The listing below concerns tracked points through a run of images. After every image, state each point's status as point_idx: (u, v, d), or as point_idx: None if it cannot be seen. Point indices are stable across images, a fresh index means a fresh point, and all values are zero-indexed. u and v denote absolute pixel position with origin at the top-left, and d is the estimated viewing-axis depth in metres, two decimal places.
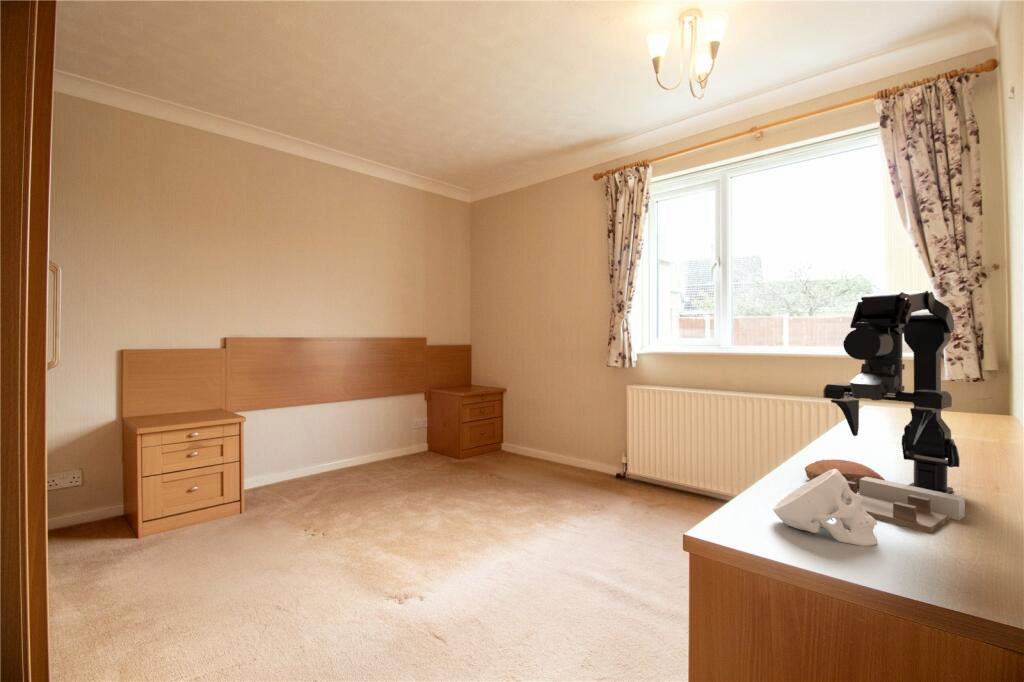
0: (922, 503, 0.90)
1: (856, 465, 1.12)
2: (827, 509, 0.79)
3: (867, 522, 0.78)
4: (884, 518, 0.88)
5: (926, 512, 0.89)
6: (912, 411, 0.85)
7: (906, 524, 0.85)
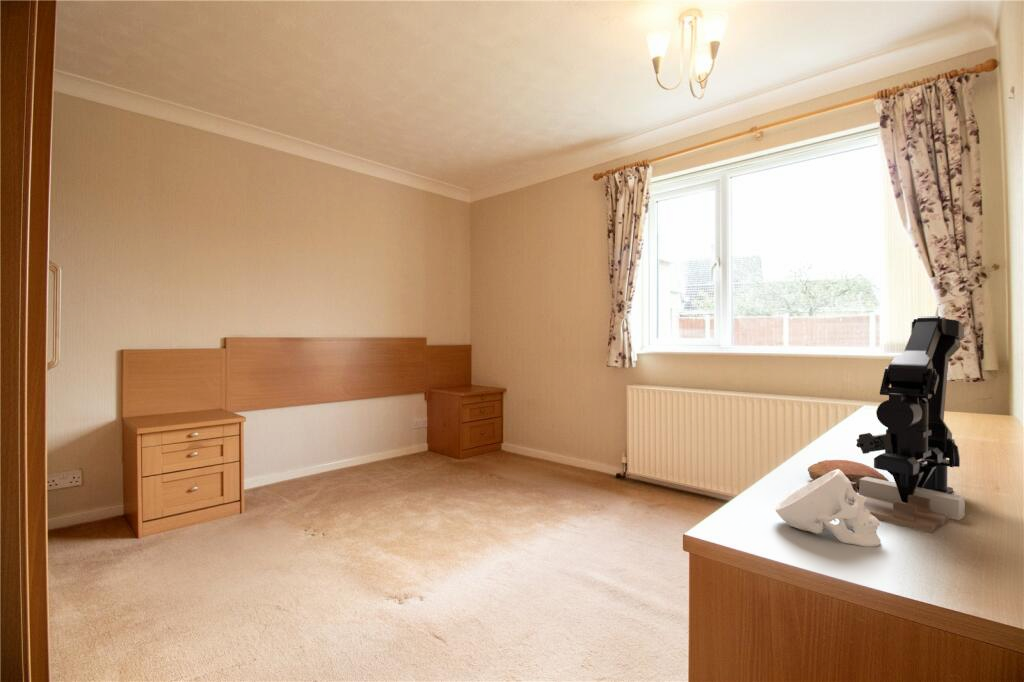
0: (922, 503, 0.90)
1: (859, 465, 1.11)
2: (830, 510, 0.79)
3: (870, 523, 0.78)
4: (884, 518, 0.88)
5: (926, 512, 0.89)
6: None
7: (906, 524, 0.85)
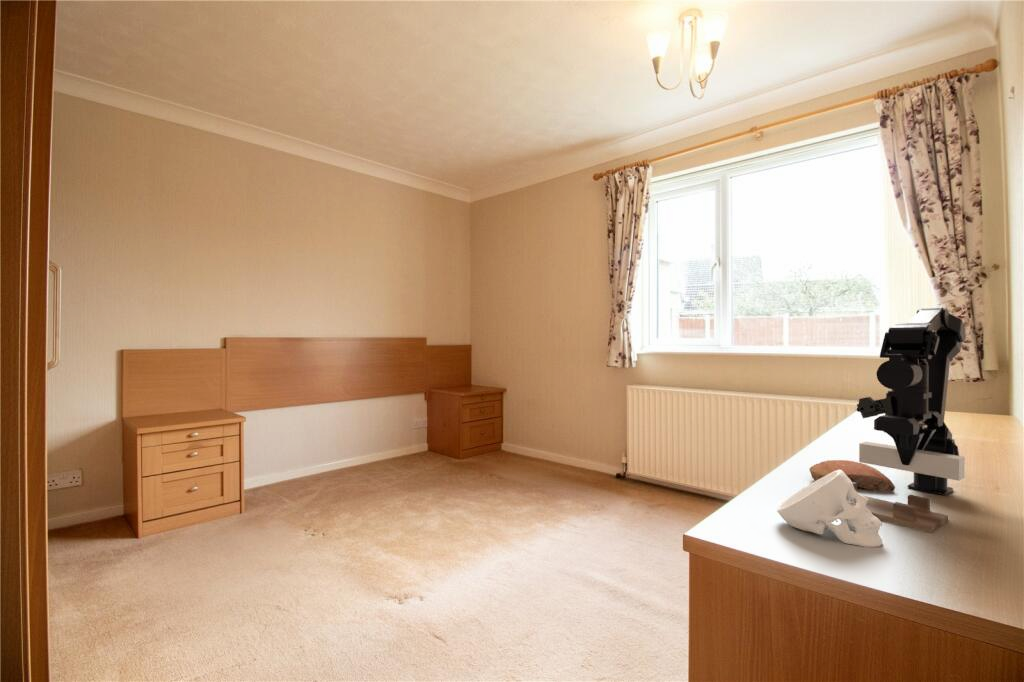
0: (922, 503, 0.90)
1: (861, 466, 1.11)
2: (832, 510, 0.79)
3: (872, 523, 0.78)
4: (884, 518, 0.88)
5: (926, 512, 0.89)
6: None
7: (906, 524, 0.85)
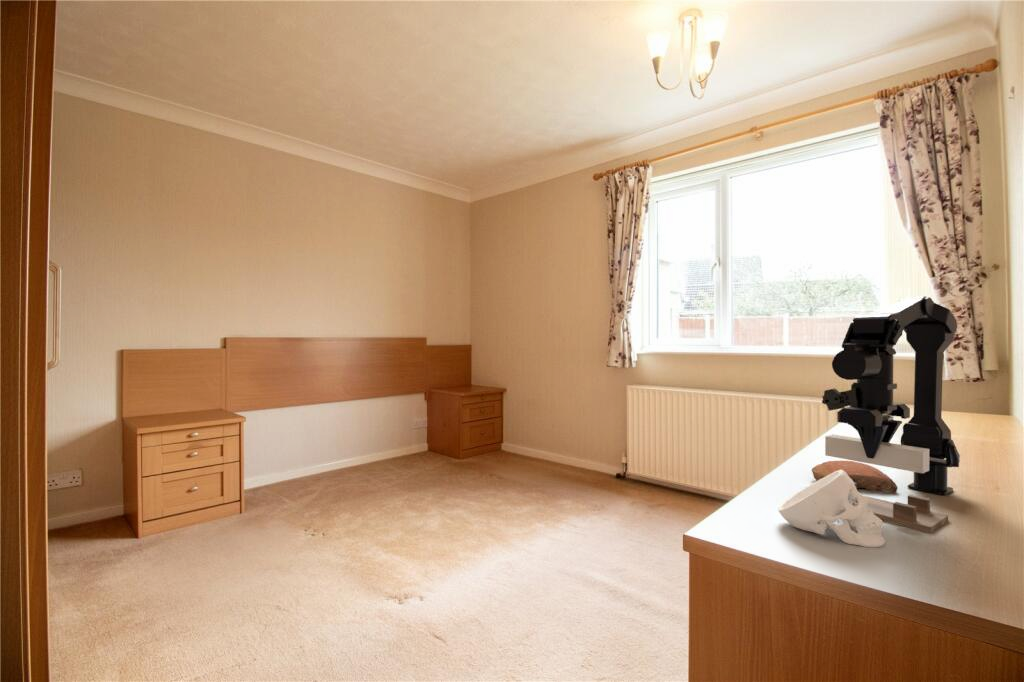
0: (922, 503, 0.90)
1: (864, 466, 1.11)
2: (834, 510, 0.79)
3: (874, 523, 0.77)
4: (884, 518, 0.88)
5: (926, 512, 0.89)
6: None
7: (906, 524, 0.85)
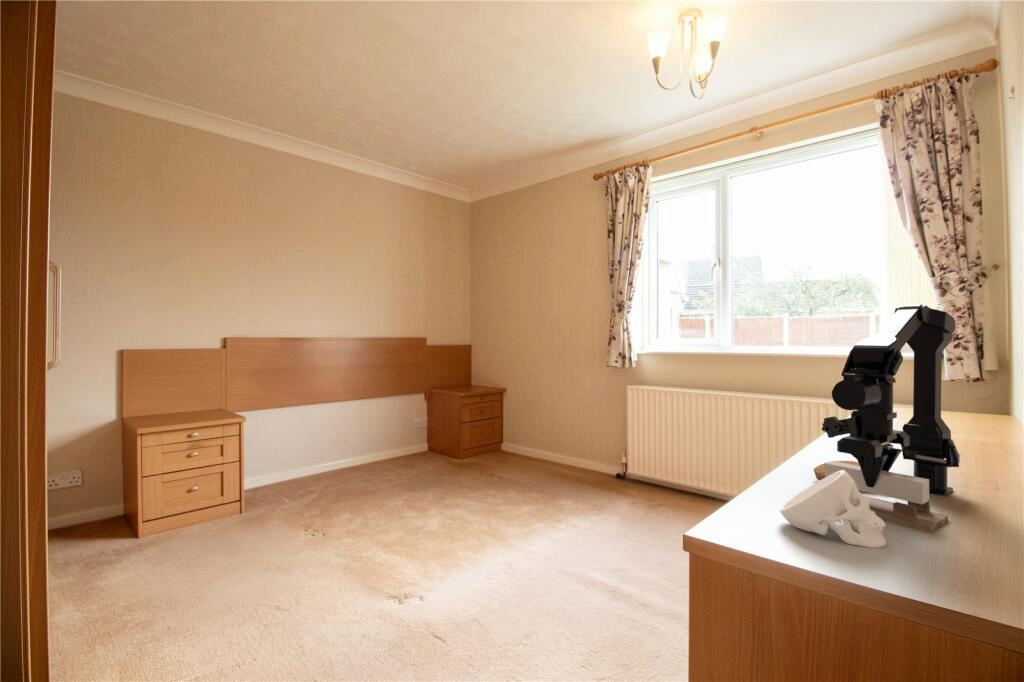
0: None
1: None
2: (835, 511, 0.79)
3: (876, 524, 0.77)
4: (884, 518, 0.88)
5: (926, 512, 0.89)
6: None
7: (906, 524, 0.85)
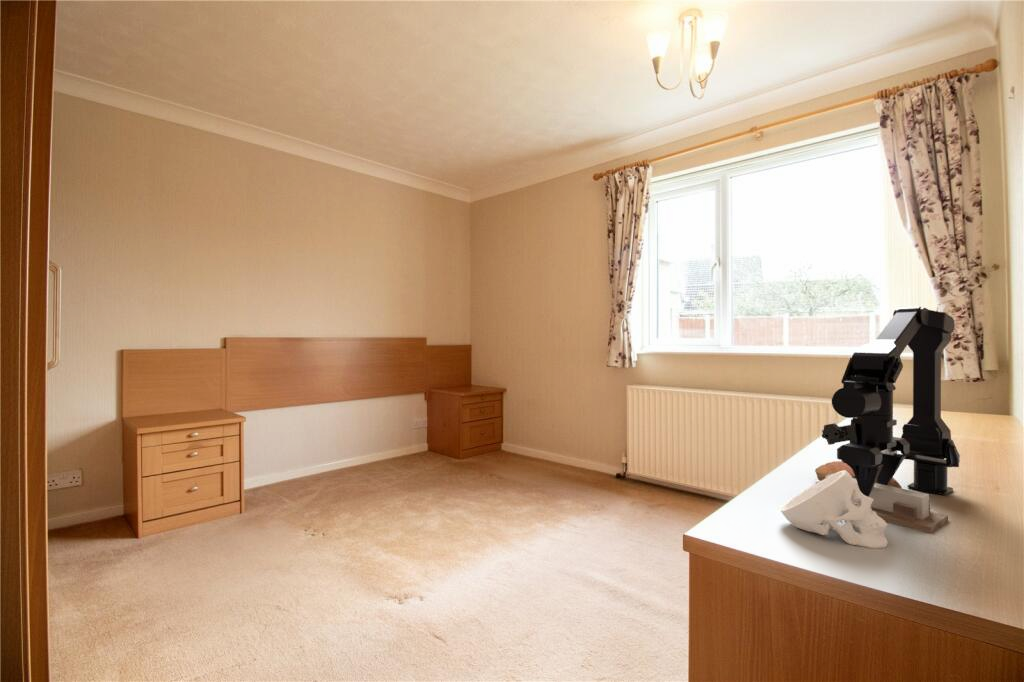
0: None
1: None
2: (837, 511, 0.79)
3: (877, 524, 0.77)
4: (884, 518, 0.88)
5: None
6: None
7: (906, 524, 0.85)
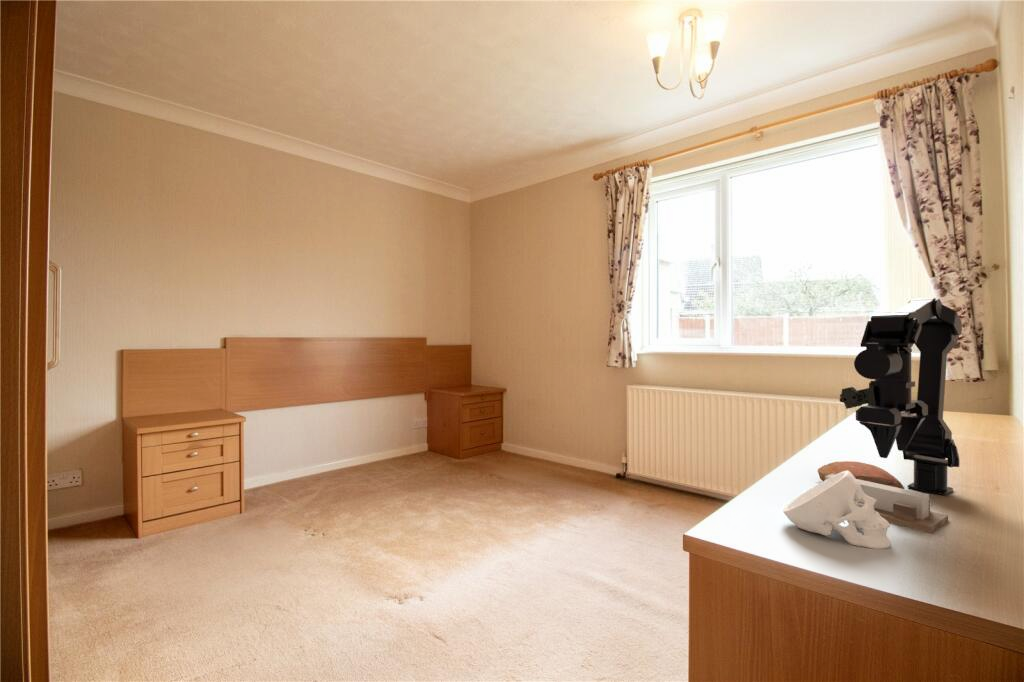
0: None
1: (871, 467, 1.10)
2: (839, 511, 0.78)
3: (880, 525, 0.77)
4: (884, 518, 0.88)
5: None
6: None
7: (906, 524, 0.85)
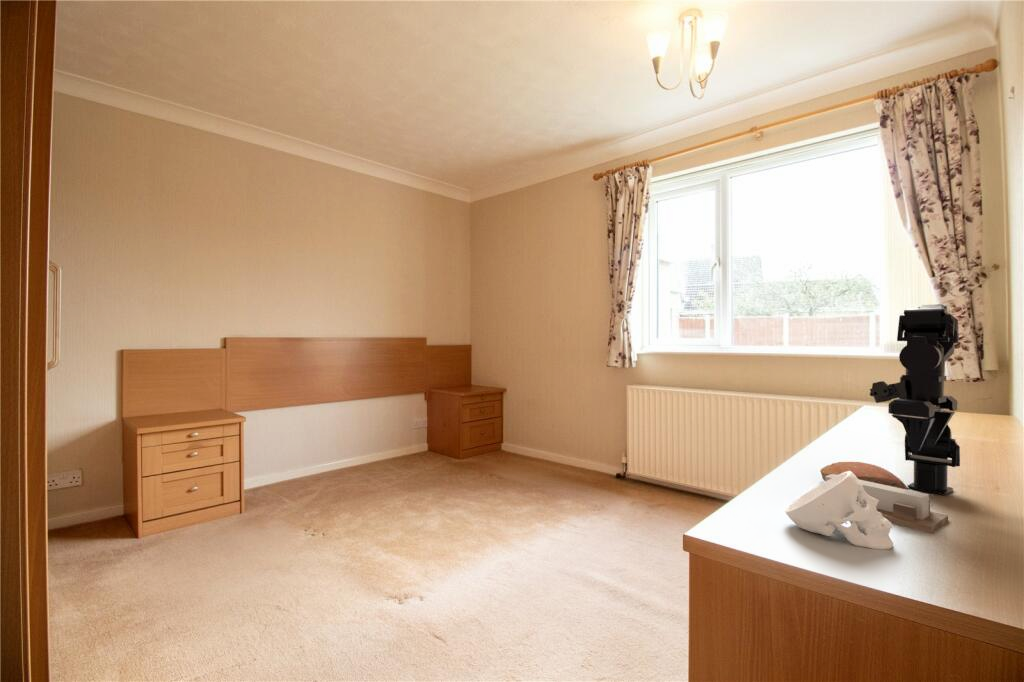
0: None
1: (874, 468, 1.09)
2: (842, 512, 0.78)
3: (883, 525, 0.77)
4: None
5: None
6: None
7: (906, 524, 0.85)
